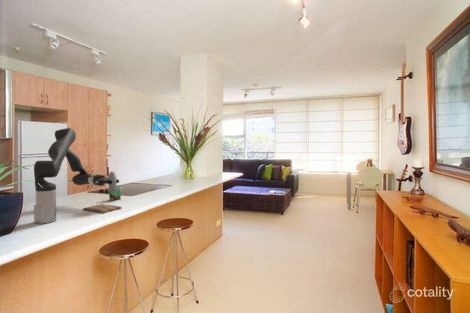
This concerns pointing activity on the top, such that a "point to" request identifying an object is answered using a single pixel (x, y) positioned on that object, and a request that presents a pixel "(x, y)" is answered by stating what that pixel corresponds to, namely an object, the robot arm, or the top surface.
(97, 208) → the walnut board
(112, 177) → the slate bottle
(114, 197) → the food container
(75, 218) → the top surface
